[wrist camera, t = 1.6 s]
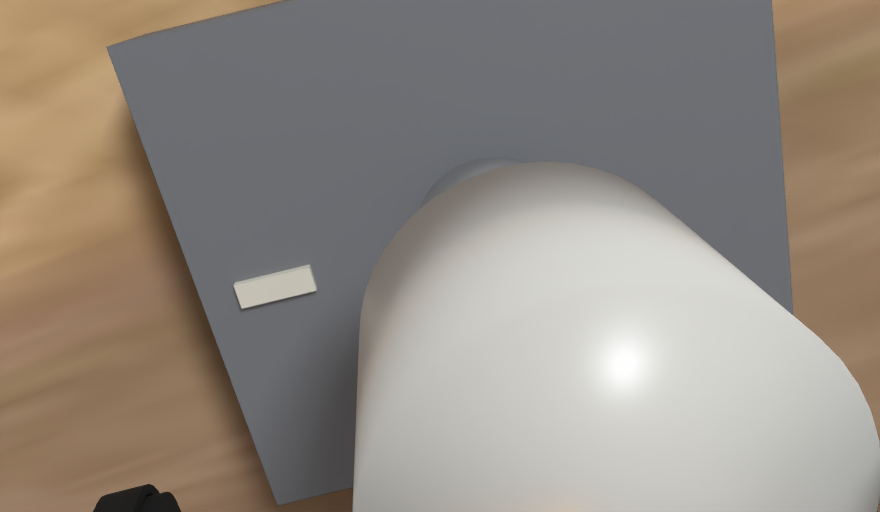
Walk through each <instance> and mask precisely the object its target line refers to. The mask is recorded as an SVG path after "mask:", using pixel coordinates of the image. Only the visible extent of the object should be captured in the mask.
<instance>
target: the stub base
mask: <svg viewBox="0 0 880 512" xmlns="http://www.w3.org/2000/svg"><path fill="white" fill-rule="evenodd" d="M106 48H107V50H108V53H109V56H110V58H111V61H112V64H113V66H114V69H115V72H116V74H117V77H118V80H119V82H120V85H121V88H122V91H123V93H124V96H125V99H126V101H127V104H128V107H129V109H130V112H131V115H132V117H133V120H134V123H135V125H136V128H137V131H138V133H139V136H140V139H141V141H142V144H143V147H144V149H145V152H146V155H147V157H148V160H149V163H150V166H151V168H152V171H153V174H154V176H155V179H156V182H157V184H158V187H159V190H160V192H161V195H162V198H163V200H164V203H165V206H166V208H167V211H168V214H169V216H170V219H171V222H172V224H173V227H174V230H175V232H176V235H177V238H178V241H179V243H180V246H181V249H182V251H183V254H184V257H185V259H186V262H187V265H188V267H189V270H190V273H191V275H192V278H193V281H194V283H195V286H196V289H197V291H198V294H199V297H200V299H201V302H202V305H203V307H204V310H205V313H206V316H207V318H208V321H209V324H210V326H211V329H212V332H213V334H214V337H215V340H216V342H217V345H218V348H219V350H220V353H221V356H222V358H223V361H224V364H225V366H226V369H227V372H228V374H229V377H230V380H231V382H232V385H233V388H234V391H235V393H236V396H237V399H238V401H239V404H240V407H241V409H242V412H243V415H244V417H245V420H246V423H247V425H248V428H249V431H250V433H251V436H252V439H253V441H254V444H255V447H256V449H257V452H258V455H259V458H260V460H261V463H262V466H263V468H264V471H265V474H266V476H267V479H268V482H269V484H270V487H271V490H272V492H273V495H274V498H275V500H276V503H277V506H278V505H282V504H286V503H290V502H294V501H298V500H303V499H307V498H311V497H315V496H319V495H323V494H328V493H332V492H336V491H340V490H344V489H348V488H352V487H353V486H354V459H355V433H356V406H357V379H358V353H359V329H360V316H361V309H362V304H363V300H364V295H365V291H366V288H367V285H368V283H369V280H370V277H371V275H372V272H373V269H374V267H375V266H376V264H377V262H378V260H379V258H380V256H381V255H382V253H383V251H384V249H385V248H386V246H387V245H388V244H389V242H390V241H391V239H392V238H393V237H394V235H395V234H396V233H397V231H398V230H399V229H400V228H401V227H402V226H403V225H404V224H405V223H406V222H407V221H408V220H409V218H410V217H411V216H412V215H413V214H414V213H415V212H417V211H418V210H419V209H420V208H422V207H423V206H424V205H425V204H426V203H428V202H429V201H430V200H431V199H433V198H434V197H436V196H437V195H439V194H440V193H442V192H444V191H445V190H447V189H449V188H450V187H452V186H453V185H455V184H457V183H459V182H462V181H464V180H466V179H468V178H470V177H473V176H475V175H477V174H480V173H483V172H487V171H490V170H493V169H496V168H499V167H504V166H509V165H515V164H521V163H528V162H550V161H551V162H562V163H574V164H579V165H583V166H588V167H593V168H597V169H600V170H603V171H605V172H608V173H611V174H614V175H616V176H619V177H621V178H623V179H625V180H627V181H628V182H630V183H632V184H634V185H636V186H638V187H639V188H641V189H642V190H644V191H645V192H646V193H648V194H649V195H650V196H652V197H653V198H654V199H656V200H657V201H658V202H659V203H661V204H662V205H663V206H664V207H665V208H666V209H668V210H669V211H670V212H671V213H672V214H674V215H675V216H676V217H677V218H678V219H679V220H681V221H682V222H683V223H684V224H685V225H687V226H688V227H689V228H690V229H691V230H692V231H694V232H695V233H696V234H697V235H698V236H700V237H701V238H702V239H703V240H704V241H705V242H707V243H708V244H709V245H710V246H711V247H713V248H714V249H715V250H716V251H717V252H718V253H720V254H721V255H722V256H723V257H724V258H726V259H727V260H728V261H729V262H730V263H731V264H733V265H734V266H735V267H736V268H737V269H739V270H740V271H741V272H742V273H743V274H744V275H746V276H747V277H748V278H749V279H750V280H752V281H753V282H754V283H755V284H756V285H757V286H759V287H760V288H761V289H762V290H763V291H765V292H766V293H767V294H768V295H769V296H770V297H772V298H773V299H774V300H775V301H776V302H778V303H779V304H780V305H781V306H782V307H783V308H785V309H786V310H787V311H788V312H789V313H791V314H792V315H793V302H792V288H791V273H790V259H789V244H788V229H787V215H786V200H785V186H784V171H783V157H782V142H781V127H780V113H779V98H778V84H777V69H776V54H775V40H774V25H773V11H772V0H284V1H279V2H275V3H271V4H267V5H263V6H259V7H255V8H251V9H247V10H243V11H239V12H234V13H230V14H226V15H222V16H218V17H214V18H210V19H206V20H202V21H198V22H194V23H189V24H185V25H181V26H177V27H173V28H169V29H165V30H161V31H157V32H153V33H149V34H145V35H142V36H138V37H135V38H132V39H129V40H126V41H123V42H120V43H117V44H114V45H111V46H108V47H106Z"/></svg>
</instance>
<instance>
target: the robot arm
mask: <svg viewBox="0 0 880 512" xmlns="http://www.w3.org/2000/svg"><path fill="white" fill-rule="evenodd" d="M93 512H181V510H180V508H179V506H178V503H177V501H176V499H175V498H174V496H173V495H172V494H171V493H170V492H164V493H159V491H158V490H157V489H156V488H155V487H154V486H153V485H150V484H147V485H143V486H139V487H135V488H131V489H127V490H123V491H119V492H115V493H111V494H107V495H105V496H103V497H101V498H100V500H99V501H98V503H97V505H96V507H95V509H94V511H93Z"/></svg>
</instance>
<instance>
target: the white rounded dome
mask: <svg viewBox="0 0 880 512" xmlns="http://www.w3.org/2000/svg"><path fill="white" fill-rule="evenodd" d="M879 498H880V447H879V438H878V435H877V431H876V428H875V424H874V420H873V417H872V413H871V410H870V408H869V406H868V404H867V402H866V400H865V397H864V395H863V393H862V391H861V389H860V387H859V385H858V383H857V382H856V380H855V379H854V378H853V376H852V375H851V373H850V372H849V370H848V369H847V368H846V366H845V365H844V363H843V362H842V360H841V359H840V358H839V357H838V356H837V355H836V354H835V353H834V352H833V351H832V350H831V349H830V348H829V347H828V346H827V345H826V344H825V343H824V342H823V341H822V340H821V339H820V338H819V337H818V336H817V335H815V334H814V333H813V332H812V331H811V330H809V329H808V328H807V327H806V326H805V325H804V324H802V323H801V322H800V321H799V320H798V319H796V318H795V317H794V316H793V315H792V314H791V313H789V312H788V311H787V310H786V309H785V308H783V307H782V306H781V305H780V304H779V303H778V302H776V301H775V300H774V299H773V298H772V297H770V296H769V295H768V294H767V293H766V292H765V291H763V290H762V289H761V288H760V287H759V286H757V285H756V284H755V283H754V282H753V281H752V280H750V279H749V278H748V277H747V276H746V275H744V274H743V273H742V272H741V271H740V270H739V269H737V268H736V267H735V266H734V265H733V264H731V263H730V262H729V261H728V260H727V259H726V258H724V257H723V256H722V255H721V254H720V253H718V252H717V251H716V250H715V249H714V248H713V247H711V246H710V245H709V244H708V243H707V242H705V241H704V240H703V239H702V238H701V237H700V236H698V235H697V234H696V233H695V232H694V231H692V230H691V229H690V228H689V227H688V226H687V225H685V224H684V223H683V222H682V221H681V220H679V219H678V218H677V217H676V216H675V215H674V214H672V213H671V212H670V211H669V210H668V209H666V208H665V207H664V206H663V205H662V204H661V203H659V202H658V201H657V200H656V199H654V198H653V197H652V196H650V195H649V194H648V193H646V192H645V191H644V190H642V189H641V188H639V187H638V186H636V185H634V184H632V183H630V182H628V181H627V180H625V179H623V178H621V177H619V176H616V175H614V174H611V173H608V172H605V171H603V170H600V169H597V168H593V167H588V166H583V165H579V164H574V163H562V162H551V161H550V162H528V163H521V164H515V165H509V166H504V167H499V168H496V169H493V170H490V171H487V172H483V173H480V174H477V175H475V176H473V177H470V178H468V179H466V180H464V181H462V182H459V183H457V184H455V185H453V186H452V187H450V188H449V189H447V190H445V191H444V192H442V193H440V194H439V195H437V196H436V197H434V198H433V199H431V200H430V201H429V202H428V203H426V204H425V205H424V206H423V207H422V208H420V209H419V210H418V211H417V212H415V213H414V214H413V215H412V216H411V217H410V218H409V220H408V221H407V222H406V223H405V224H404V225H403V226H402V227H401V228H400V229H399V230H398V231H397V233H396V234H395V235H394V237H393V238H392V239H391V241H390V242H389V244H388V245H387V246H386V248H385V249H384V251H383V253H382V255H381V256H380V258H379V260H378V262H377V264H376V266H375V267H374V269H373V272H372V275H371V277H370V280H369V283H368V285H367V288H366V291H365V295H364V300H363V304H362V309H361V316H360V329H359V353H358V379H357V406H356V433H355V459H354V486H353V512H877V508H878V503H879Z"/></svg>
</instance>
